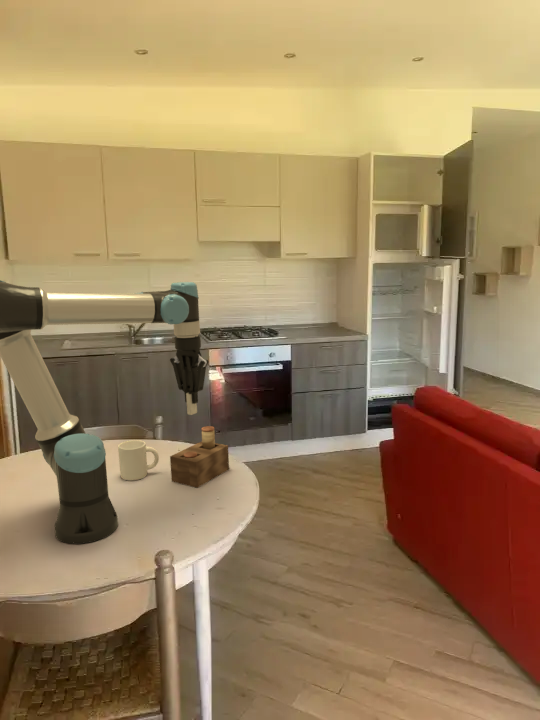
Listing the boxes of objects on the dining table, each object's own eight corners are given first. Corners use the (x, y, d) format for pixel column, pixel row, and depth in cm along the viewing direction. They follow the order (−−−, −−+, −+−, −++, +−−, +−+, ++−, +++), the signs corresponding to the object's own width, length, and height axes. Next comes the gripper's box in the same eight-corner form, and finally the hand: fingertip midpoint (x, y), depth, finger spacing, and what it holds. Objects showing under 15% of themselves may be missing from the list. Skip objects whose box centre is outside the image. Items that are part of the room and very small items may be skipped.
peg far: (210, 453, 172) (209, 430, 170) (199, 451, 174) (198, 429, 172) (217, 449, 175) (216, 427, 173) (207, 447, 177) (206, 425, 176)
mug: (159, 468, 178) (157, 437, 176) (160, 478, 170) (158, 446, 168) (120, 472, 176) (118, 441, 174) (120, 482, 168) (117, 450, 166)
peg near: (192, 480, 165) (191, 457, 164) (182, 478, 167) (180, 454, 166) (200, 476, 168) (199, 452, 167) (190, 473, 170) (189, 450, 169)
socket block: (197, 487, 162) (196, 462, 161) (171, 481, 168) (170, 456, 166) (229, 469, 176) (228, 445, 174) (204, 463, 181) (203, 440, 179)
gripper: (213, 334, 160) (217, 412, 165) (178, 332, 167) (183, 407, 172) (196, 338, 154) (201, 419, 159) (161, 336, 161) (167, 414, 166)
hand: (192, 413), depth 165 cm, fingers closed
